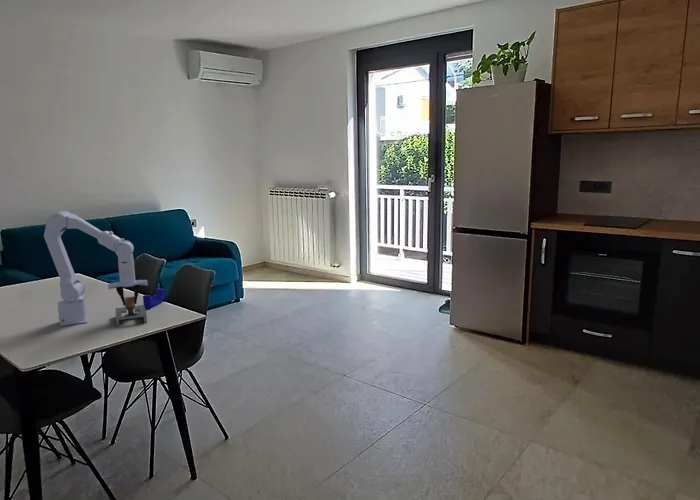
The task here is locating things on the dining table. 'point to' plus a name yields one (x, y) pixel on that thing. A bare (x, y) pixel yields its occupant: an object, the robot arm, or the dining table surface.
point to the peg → (130, 305)
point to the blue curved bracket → (154, 299)
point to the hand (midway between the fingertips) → (129, 304)
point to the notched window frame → (136, 308)
